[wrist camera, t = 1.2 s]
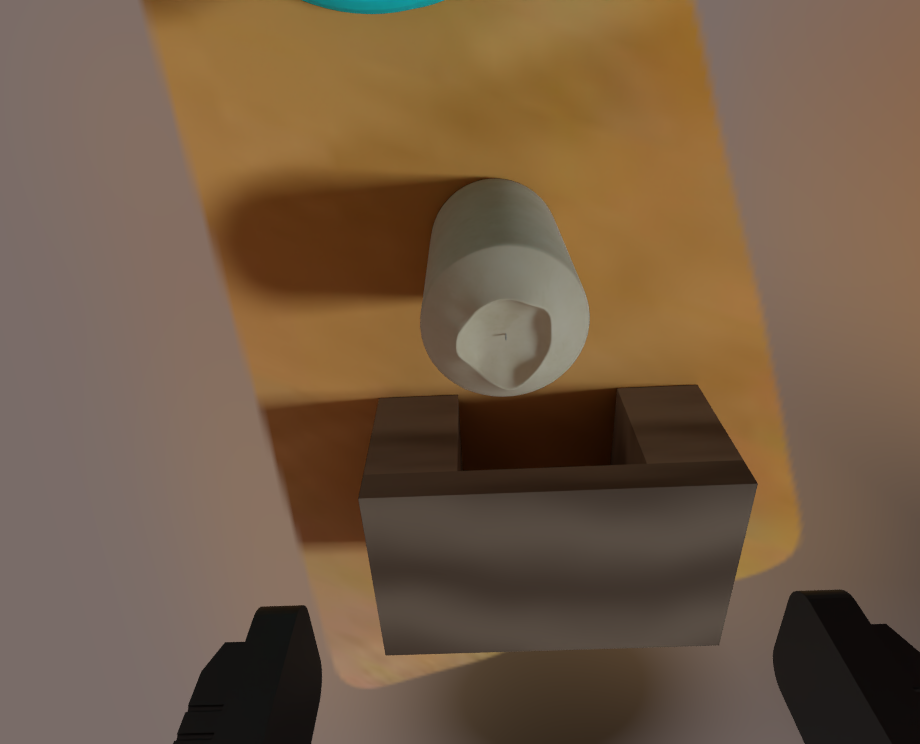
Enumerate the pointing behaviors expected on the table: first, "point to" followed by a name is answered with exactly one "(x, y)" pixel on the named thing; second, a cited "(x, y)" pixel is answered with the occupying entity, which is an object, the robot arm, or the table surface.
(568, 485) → the bridge
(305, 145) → the table surface
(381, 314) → the table surface
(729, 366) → the table surface
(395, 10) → the turquoise spool
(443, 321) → the candle
